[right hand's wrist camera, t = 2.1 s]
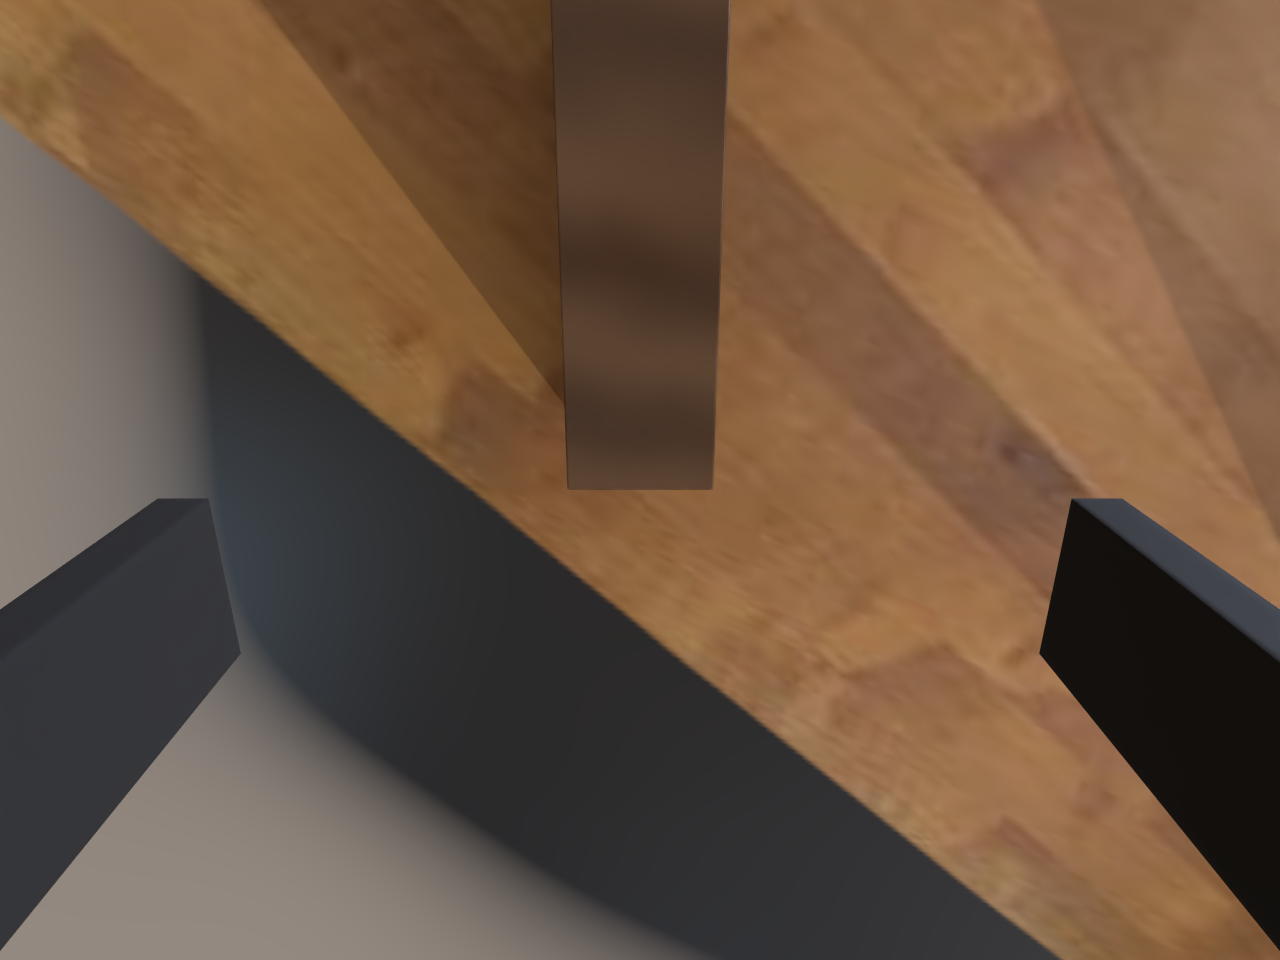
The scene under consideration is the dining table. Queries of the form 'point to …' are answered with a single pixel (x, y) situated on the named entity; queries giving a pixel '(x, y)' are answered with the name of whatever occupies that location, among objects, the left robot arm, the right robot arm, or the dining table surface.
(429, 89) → the dining table surface
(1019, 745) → the dining table surface
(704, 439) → the bar
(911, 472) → the dining table surface
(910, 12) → the dining table surface
